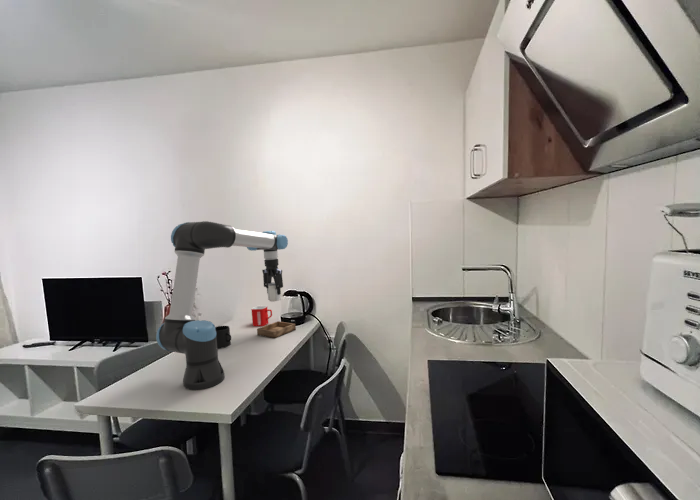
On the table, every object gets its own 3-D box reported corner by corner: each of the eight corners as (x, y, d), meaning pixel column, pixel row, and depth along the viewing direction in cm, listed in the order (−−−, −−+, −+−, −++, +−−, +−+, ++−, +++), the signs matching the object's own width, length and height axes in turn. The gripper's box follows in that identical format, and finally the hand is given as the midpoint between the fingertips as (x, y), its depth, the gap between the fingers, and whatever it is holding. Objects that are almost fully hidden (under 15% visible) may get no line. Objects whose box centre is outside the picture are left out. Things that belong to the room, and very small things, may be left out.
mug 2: (251, 326, 213) (250, 309, 212) (257, 322, 221) (256, 306, 220) (269, 326, 210) (268, 309, 210) (275, 322, 218) (274, 305, 218)
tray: (275, 338, 187) (274, 332, 187) (257, 334, 195) (256, 328, 195) (295, 329, 200) (295, 323, 200) (278, 326, 208) (278, 321, 208)
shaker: (274, 301, 192) (272, 284, 192) (267, 301, 196) (265, 283, 195) (282, 299, 197) (280, 282, 196) (274, 298, 200) (273, 281, 200)
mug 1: (224, 350, 174) (223, 332, 173) (207, 347, 179) (205, 330, 178) (238, 343, 182) (237, 326, 181) (221, 341, 187) (220, 325, 187)
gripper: (288, 258, 192) (291, 299, 194) (264, 257, 203) (268, 297, 205) (278, 259, 186) (281, 302, 188) (254, 259, 197) (258, 300, 199)
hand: (274, 299), depth 196 cm, fingers closed on shaker, 6 cm apart
